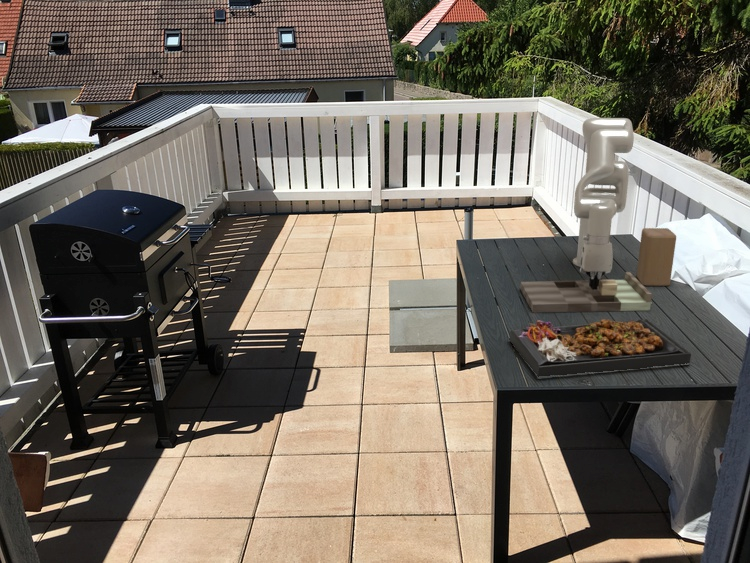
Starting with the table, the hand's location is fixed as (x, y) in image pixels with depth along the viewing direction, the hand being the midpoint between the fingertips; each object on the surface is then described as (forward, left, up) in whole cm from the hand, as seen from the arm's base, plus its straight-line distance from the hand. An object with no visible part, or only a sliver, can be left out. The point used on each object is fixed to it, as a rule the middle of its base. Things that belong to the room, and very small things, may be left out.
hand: (593, 288), depth 234 cm
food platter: (+42, -11, -5) cm, 43 cm away
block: (-16, +27, -5) cm, 32 cm away
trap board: (0, -4, -4) cm, 6 cm away
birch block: (+1, +5, -1) cm, 5 cm away
